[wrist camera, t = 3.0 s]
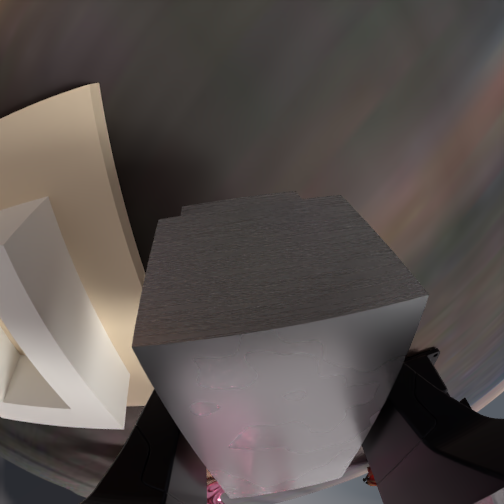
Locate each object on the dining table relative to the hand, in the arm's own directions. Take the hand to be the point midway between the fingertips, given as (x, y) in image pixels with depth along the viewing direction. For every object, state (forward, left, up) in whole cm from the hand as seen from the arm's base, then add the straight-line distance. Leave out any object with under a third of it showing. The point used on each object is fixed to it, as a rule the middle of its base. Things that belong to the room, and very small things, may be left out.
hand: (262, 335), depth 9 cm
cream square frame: (-2, +13, -6) cm, 15 cm away
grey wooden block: (0, 0, -4) cm, 4 cm away
